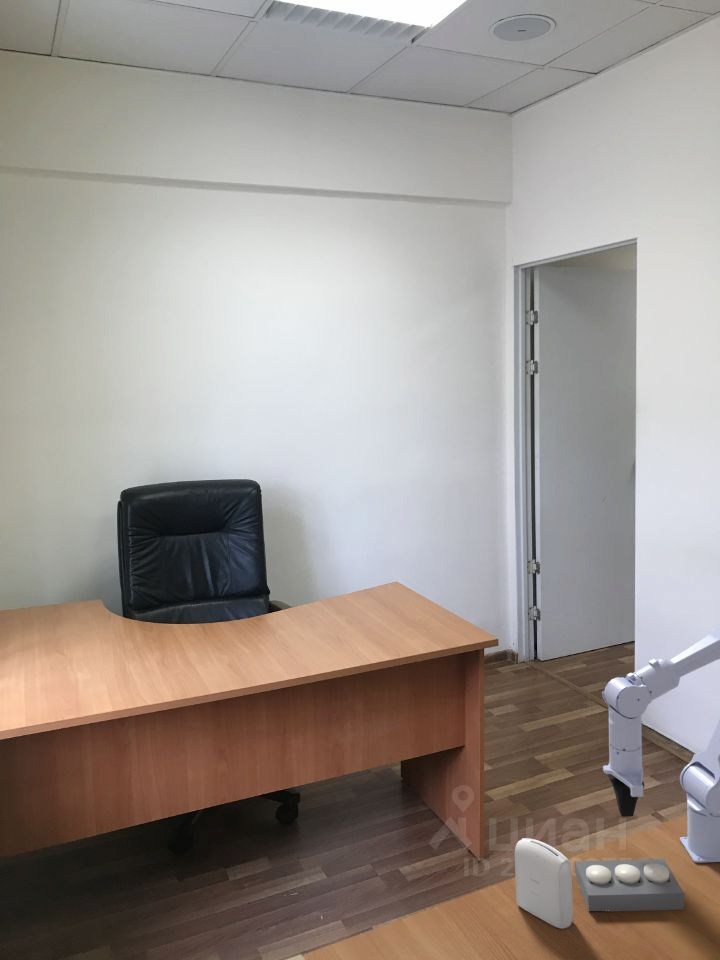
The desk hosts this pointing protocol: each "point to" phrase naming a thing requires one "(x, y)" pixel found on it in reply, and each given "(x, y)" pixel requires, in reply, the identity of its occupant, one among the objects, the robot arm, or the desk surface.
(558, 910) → the photo printer
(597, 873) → the knob
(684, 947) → the desk surface
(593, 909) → the mount
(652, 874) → the knob
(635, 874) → the knob middle
